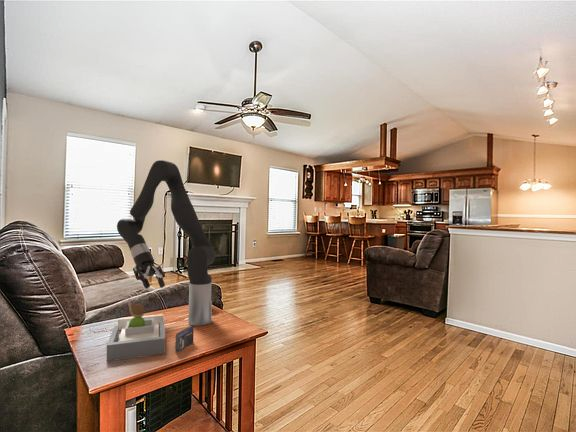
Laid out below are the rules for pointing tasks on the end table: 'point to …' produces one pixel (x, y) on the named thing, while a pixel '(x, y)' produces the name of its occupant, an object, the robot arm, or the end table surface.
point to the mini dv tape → (184, 339)
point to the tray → (140, 328)
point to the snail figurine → (136, 315)
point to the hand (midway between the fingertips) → (155, 287)
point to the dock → (135, 345)
